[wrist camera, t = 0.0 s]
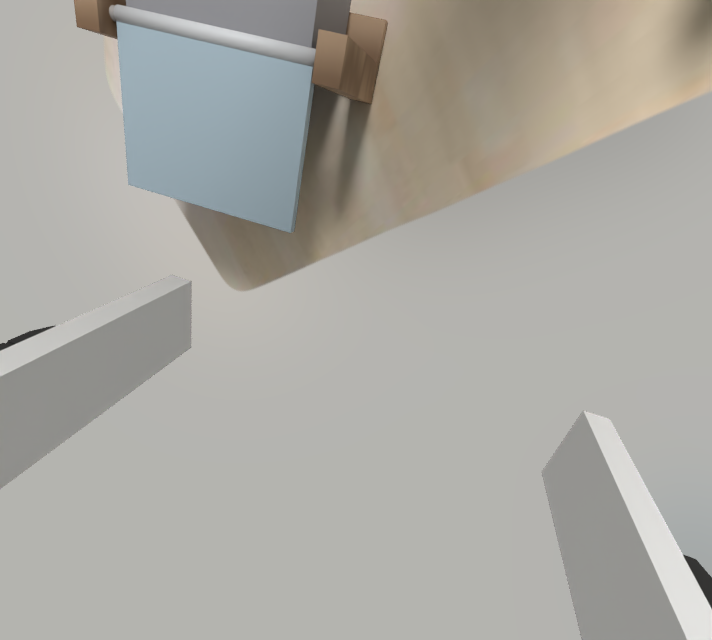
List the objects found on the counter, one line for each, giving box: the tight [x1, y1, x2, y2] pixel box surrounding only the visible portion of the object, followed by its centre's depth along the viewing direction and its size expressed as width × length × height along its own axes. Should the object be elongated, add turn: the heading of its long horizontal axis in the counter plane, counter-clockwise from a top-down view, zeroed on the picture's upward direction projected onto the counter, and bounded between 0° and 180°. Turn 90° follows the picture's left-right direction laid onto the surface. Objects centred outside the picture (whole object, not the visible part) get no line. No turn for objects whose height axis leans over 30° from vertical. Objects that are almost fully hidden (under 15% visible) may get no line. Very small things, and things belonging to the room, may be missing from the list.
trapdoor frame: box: [74, 0, 388, 104], centre depth 29 cm, size 6×21×10 cm, turn 77°
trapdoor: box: [114, 0, 351, 233], centre depth 31 cm, size 18×16×8 cm
